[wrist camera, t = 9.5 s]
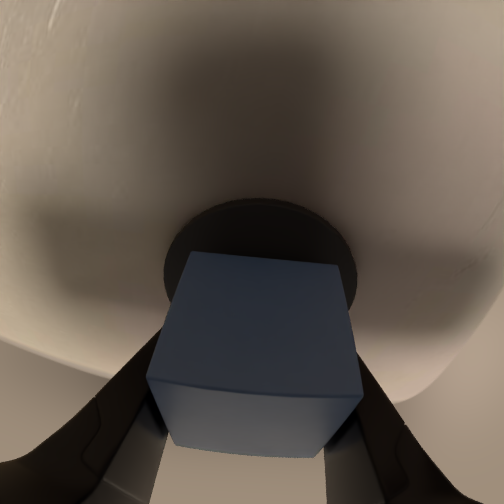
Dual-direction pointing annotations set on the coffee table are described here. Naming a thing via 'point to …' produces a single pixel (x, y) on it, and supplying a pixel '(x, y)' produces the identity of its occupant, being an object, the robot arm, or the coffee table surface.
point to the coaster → (262, 239)
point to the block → (256, 357)
